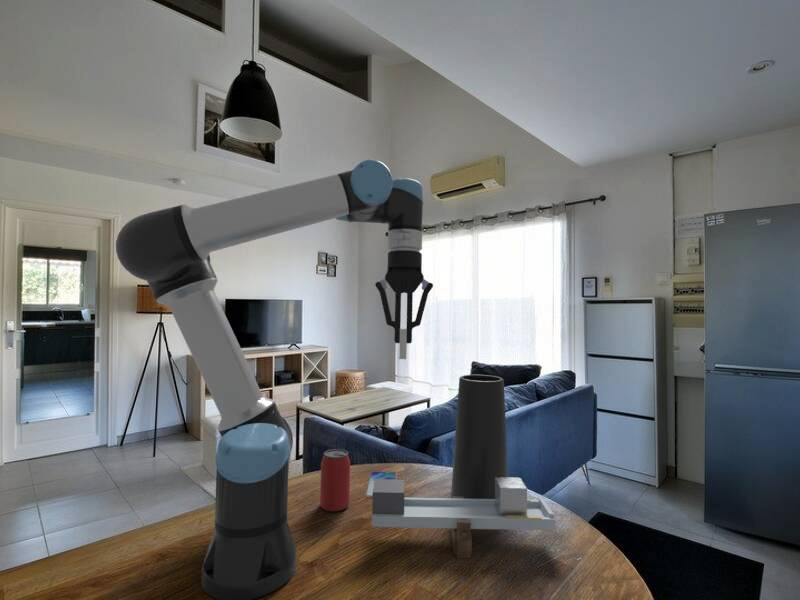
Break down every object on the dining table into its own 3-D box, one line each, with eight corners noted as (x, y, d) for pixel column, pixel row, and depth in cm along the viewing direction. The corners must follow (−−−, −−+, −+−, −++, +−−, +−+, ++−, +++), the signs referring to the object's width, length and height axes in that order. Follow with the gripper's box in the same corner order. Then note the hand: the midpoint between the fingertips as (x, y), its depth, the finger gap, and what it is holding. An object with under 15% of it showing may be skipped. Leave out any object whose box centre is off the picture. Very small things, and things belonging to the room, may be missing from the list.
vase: (499, 518, 90) (501, 385, 90) (442, 502, 96) (444, 378, 97) (515, 494, 101) (516, 376, 102) (463, 481, 108) (465, 371, 109)
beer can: (343, 514, 90) (344, 459, 90) (315, 511, 91) (316, 456, 91) (352, 501, 96) (354, 449, 97) (326, 497, 98) (327, 447, 98)
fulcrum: (455, 559, 74) (455, 524, 74) (449, 525, 86) (449, 494, 86) (473, 560, 74) (473, 524, 74) (464, 526, 86) (464, 495, 86)
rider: (500, 519, 78) (500, 487, 78) (494, 507, 83) (495, 477, 83) (527, 520, 77) (527, 488, 78) (519, 507, 82) (519, 477, 83)
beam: (371, 526, 77) (372, 494, 77) (375, 506, 85) (375, 477, 85) (555, 530, 76) (555, 497, 76) (541, 509, 84) (541, 480, 84)
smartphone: (364, 496, 98) (370, 471, 113) (364, 499, 98) (370, 474, 113) (394, 496, 98) (396, 471, 113) (394, 500, 98) (396, 474, 113)
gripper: (373, 248, 87) (371, 359, 87) (435, 249, 87) (433, 361, 86) (376, 253, 95) (374, 355, 94) (433, 254, 94) (431, 357, 94)
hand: (402, 358), depth 90 cm, fingers closed
